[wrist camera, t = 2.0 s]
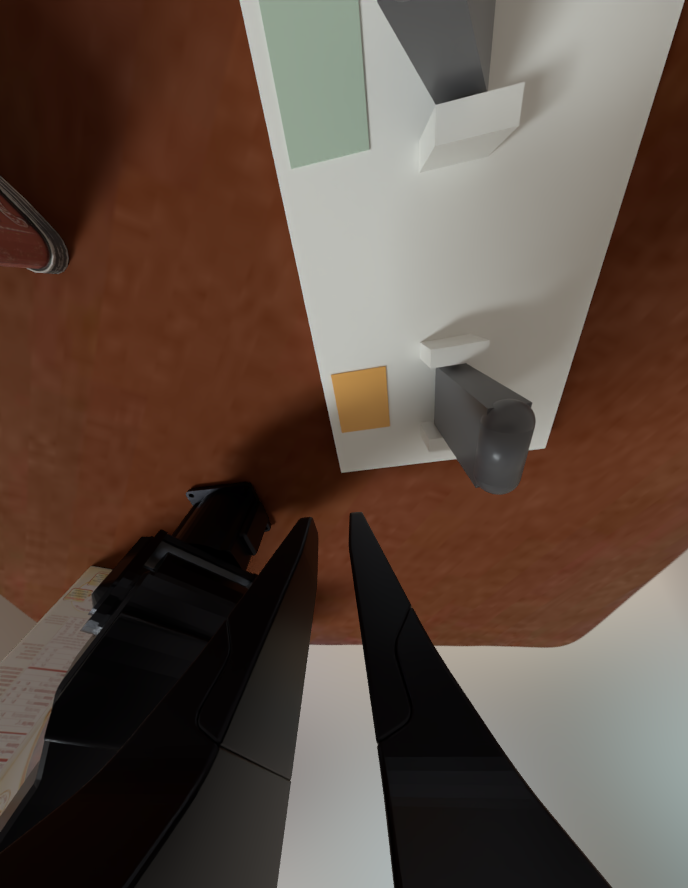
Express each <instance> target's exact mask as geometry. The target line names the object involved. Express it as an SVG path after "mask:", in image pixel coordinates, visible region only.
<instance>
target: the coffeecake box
mask: <svg viewBox="0 0 688 888" xmlns="http://www.w3.org/2000/svg"><path fill="white" fill-rule="evenodd" d="M111 571H112V569H107V568H101V567H95V566H91V567H89V569H88V570H87V571H86V572H85V573H84V574H83V575H82V576H81V577H80V578H79V579H78V580H77V581H76V583H75V584H74V585H73V586H72V587H71V588H70V589H69V590H68V591H67V592H66V593H65V594H64V595H63V596H62V597H61V598H60V599H59V601H58V602H57V603H56V604H55V605H54V606H53V607H52V608H51V609H50V610H49V611H48V612H47V613H46V614H45V615H44V616H43V618H42V619H41V620H40V621H39V622H38V623H37V624H36V625H35V626H34V627H33V628H32V629H31V630H30V631H29V633H28V634H27V635H26V636H25V637H24V638H23V639H22V640H21V641H20V642H19V643H18V644H17V645H16V646H15V647H14V648H13V650H11V651H10V653H9V654H8V655H7V656H6V657H5V658H4V659H3V660H2V661H1V662H0V816H1V815H2V813H3V812H4V810H5V809H6V807H7V806H8V805H9V803H10V802H11V800H12V799H13V797H14V796H15V794H16V793H17V792H18V790H19V789H20V787H21V786H22V784H23V783H24V781H25V780H26V779H27V777H28V776H29V774H30V773H31V771H32V770H33V769H34V767H35V766H36V764H37V763H38V761H39V760H40V758H41V753H42V749H43V745H44V735H45V732H46V728H47V724H48V721H49V717H50V714H51V710H52V705H53V701H54V697H55V693H56V690H57V688H58V686H59V684H60V683H61V681H62V679H63V678H64V676H65V674H66V672H67V671H68V669H69V667H70V666H71V664H72V662H73V661H74V659H75V657H76V656H77V655H78V653H79V652H80V651H81V649H82V648H83V647H84V645H85V644H86V643H87V641H88V640H89V639H90V637H91V636H92V635H93V634H88V633H85V632H82V631H80V630H81V629H82V627H83V626H84V625H85V623H86V622H87V621H88V620H89V618H90V617H91V615H88V613H89V612H90V611H91V610H92V608H93V606H92V596H91V594H92V593H93V592H94V590H95V589H96V588H97V587H98V586H99V585H100V583H101V582H102V581H103V580H104V579H105V578H106V577H107V576H108V575H109V573H110V572H111Z"/></svg>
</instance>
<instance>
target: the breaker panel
mask: <svg viewBox="0 0 688 888" xmlns="http://www.w3.org/2000/svg"><path fill="white" fill-rule="evenodd" d="M684 1H685V0H240V4H241V9H242V13H243V18H244V23H245V27H246V32H247V37H248V41H249V46H250V51H251V55H252V60H253V64H254V69H255V74H256V78H257V83H258V88H259V92H260V97H261V102H262V106H263V111H264V116H265V120H266V125H267V130H268V134H269V139H270V144H271V148H272V153H273V158H274V162H275V167H276V171H277V176H278V181H279V185H280V190H281V195H282V199H283V204H284V209H285V213H286V218H287V223H288V227H289V232H290V237H291V241H292V246H293V251H294V255H295V260H296V264H297V269H298V274H299V278H300V283H301V288H302V292H303V297H304V302H305V306H306V311H307V316H308V320H309V325H310V330H311V334H312V339H313V344H314V348H315V353H316V358H317V362H318V367H319V371H320V376H321V381H322V385H323V390H324V395H325V399H326V404H327V409H328V413H329V418H330V423H331V427H332V432H333V437H334V441H335V446H336V451H337V455H338V460H339V464H340V469H341V473H344V472H352V471H360V470H369V469H377V468H385V467H393V466H402V465H410V464H418V463H427V462H435V461H443V460H451V459H457V458H456V457H455V455H454V454H453V452H452V451H451V449H450V448H449V446H448V445H447V443H446V442H445V440H444V439H443V437H442V435H441V434H440V432H439V431H438V429H437V428H436V426H435V425H434V408H435V375H436V368H438V367H444V366H451V365H457V364H464V363H467V364H468V365H470V366H472V367H473V368H475V369H477V370H478V371H480V372H482V373H484V374H485V375H487V376H489V377H490V378H492V379H494V380H495V381H497V382H499V383H500V384H502V385H504V386H505V387H507V388H509V389H511V390H512V391H514V392H516V393H517V394H519V395H521V396H522V397H524V398H526V399H527V400H529V401H531V402H532V406H531V409H532V410H533V412H534V414H535V419H536V423H535V428H534V432H533V436H532V439H531V443H530V447H529V450H534V449H543V448H545V447H546V444H547V441H548V437H549V434H550V431H551V428H552V425H553V421H554V418H555V415H556V412H557V409H558V405H559V402H560V399H561V396H562V393H563V389H564V386H565V383H566V380H567V376H568V373H569V370H570V367H571V364H572V360H573V357H574V354H575V351H576V348H577V344H578V341H579V338H580V335H581V332H582V328H583V325H584V322H585V319H586V315H587V312H588V309H589V306H590V303H591V299H592V296H593V293H594V290H595V287H596V283H597V280H598V277H599V274H600V271H601V267H602V264H603V261H604V258H605V255H606V251H607V248H608V245H609V242H610V238H611V235H612V232H613V229H614V226H615V222H616V219H617V216H618V213H619V210H620V206H621V203H622V200H623V197H624V194H625V190H626V187H627V184H628V181H629V177H630V174H631V171H632V168H633V165H634V161H635V158H636V155H637V152H638V149H639V145H640V142H641V139H642V136H643V133H644V129H645V126H646V123H647V120H648V117H649V113H650V110H651V107H652V104H653V100H654V97H655V94H656V91H657V88H658V84H659V81H660V78H661V75H662V72H663V68H664V65H665V62H666V59H667V56H668V52H669V49H670V46H671V43H672V39H673V36H674V33H675V30H676V27H677V23H678V20H679V17H680V14H681V11H682V7H683V4H684Z"/></svg>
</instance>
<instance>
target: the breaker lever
mask: <svg viewBox="0 0 688 888" xmlns="http://www.w3.org/2000/svg"><path fill="white" fill-rule="evenodd" d="M531 406H532V402H531V401H529V400H527V399H526V398H524V397H522V396H521V395H519V394H517V393H516V392H514V391H512V390H511V389H509V388H507V387H505V386H504V385H502V384H500V383H499V382H497V381H495V380H494V379H492V378H490V377H489V376H487V375H485V374H484V373H482V372H480V371H478V370H477V369H475V368H473V367H472V366H470V365H468V364H467V363H464V364H457V365H451V366H444V367H438V368H436V375H435V408H434V425H435V426H436V428H437V429H438V431H439V432H440V434H441V435H442V437H443V439H444V440H445V442H446V443H447V445H448V446H449V448H450V449H451V451H452V452H453V454H454V455H455V457H456V458H457V460H458V461H459V463H460V464H461V466H462V467H463V469H464V471H465V472H466V474H467V475H468V477H469V478H470V480H471V481H472V483H473V484H474V486H475V487H476V488H477V487H480V488H482V489H483V490H484V491H486V492H488V493H492V494H506V493H509V492H511V491H512V490H514V489H515V488H516V487H517V486H518V484H519V482H520V480H521V476H522V472H523V469H524V465H525V461H526V458H527V454H528V450H529V447H530V443H531V439H532V436H533V432H534V428H535V423H536V419H535V414H534V412H533V410H532V409H531Z"/></svg>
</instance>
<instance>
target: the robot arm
mask: <svg viewBox="0 0 688 888" xmlns="http://www.w3.org/2000/svg"><path fill="white" fill-rule="evenodd" d="M246 487H247V488H246ZM186 496H187V498H188V499H189V501H190V502H191V504H192V505H193V507H192V508H191V510H190V511H189V512H188V514H187V515H186V516H185V518H184V519H183V521H182V522H181V523H180V525H179V526H178V527H177V529H176V530H175V531H174V533H173V534H172V536H171V535H169V534H167V533H168V532H166V531H164V530H162V529H161V530H160V531H159V532H158V533H157V535H156V536H155V537H153V536H151V537H141V538H140V539H139V540H138V542H137V543H136V544H135V545H134V546H133V547H132V549H131V550H130V551H129V552H128V553H127V554H126V556H125V557H124V558H123V559H122V560H121V561H120V562H119V563H118V565H117V566H116V567H115V568H114V569H113V570H112V571H111V572H110V573H109V575H108V576H107V577H106V578H105V579H104V580H103V581H102V582H101V583H100V585H99V586H98V587H97V588H96V589H95V590H94V592H93V593H92V594H91V596H92V606H93V608H92V610H91V611H90V612H89V613H88V615H91V617H90V618H89V620H88V621H87V622H86V623H85V625H84V626H83V627H82V629H81V630H80V631H82V632H85V633H88V634H93V635H92V636H91V637H90V639H89V640H88V641H87V643H86V644H85V645H84V647H83V648H82V649H81V651H80V652H79V653H78V655H77V656H76V657H75V659H74V661H73V662H72V664H71V666H70V667H69V669H68V671H67V672H66V674H65V676H64V678H63V679H62V681H61V683H60V684H59V686H58V688H57V690H56V693H55V697H54V701H53V705H52V710H51V714H50V717H49V721H48V724H47V728H46V732H45V735H44V745H43V749H42V753H41V758H40V760H39V761H38V763H37V764H36V766H35V767H34V769H33V770H32V771H31V773H30V774H29V776H28V777H27V779H26V780H25V781H24V783H23V784H22V786H21V787H20V789H19V790H18V792H17V793H16V794H15V796H14V797H13V799H12V800H11V802H10V803H9V805H8V806H7V807H6V809H5V810H4V812H3V813H2V815H1V816H0V888H277V882H278V874H279V867H280V859H281V852H282V844H283V837H284V830H285V821H286V814H287V807H288V799H289V791H290V784H291V781H290V780H291V776H292V769H293V761H294V753H295V747H296V739H297V731H298V723H299V717H300V709H301V702H302V694H303V686H304V679H305V672H306V663H307V657H308V650H309V642H310V635H311V627H312V620H313V612H314V605H315V597H316V589H317V573H318V532H317V529H316V526H315V523H314V520H313V518H312V517H305V518H300V519H299V520H298V522H297V523H296V525H295V526H294V527H293V529H292V530H291V531H290V533H289V534H288V535H287V537H286V538H285V539H284V541H283V542H282V544H281V545H280V546H279V548H278V549H277V550H276V552H275V553H274V554H273V556H272V557H271V559H270V560H269V561H268V563H267V564H266V565H265V567H264V568H263V569H262V571H261V572H260V574H259V575H257V574H255V573H254V574H252V573H250V572H248V571H246V569H247V566H248V564H249V561H250V558H251V555H255V554H256V553H257V551H258V548H259V545H260V543H261V540H262V537H263V534H264V532H267V531H269V530H270V528H271V524H270V522H269V518H268V516H267V514H266V511H265V509H264V507H263V505H262V503H261V501H260V500H259V498H258V496H257V494H256V492H255V490H254V488H253V486H252V484H251V483H248V482H243V483H235V484H226V485H218V486H210V487H202V488H193V489H189V490H188V491H187V493H186ZM349 553H350V560H351V567H352V574H353V581H354V588H355V595H356V602H357V609H358V616H359V623H360V630H361V637H362V644H363V650H364V658H365V665H366V672H367V679H368V686H369V693H370V700H371V706H372V713H373V721H374V728H375V735H376V741H377V744H378V746H377V749H378V756H379V762H380V771H381V778H382V786H383V794H384V802H385V811H386V819H387V828H388V837H389V845H390V855H391V864H392V872H393V881H394V888H612V887H611V886H610V884H609V883H608V882H607V881H606V879H605V878H604V877H603V876H602V875H601V873H600V872H599V871H598V870H597V869H596V867H595V866H594V865H593V864H592V863H591V862H590V860H589V859H588V858H587V857H586V855H585V854H584V853H583V852H582V851H581V849H580V848H579V847H578V846H577V845H576V844H575V842H574V841H573V840H572V839H571V837H570V836H569V835H568V834H567V832H566V831H565V830H564V829H563V828H562V827H561V825H560V824H559V823H558V822H557V820H556V819H555V818H554V817H553V816H552V814H551V813H550V812H549V811H548V810H547V808H546V807H545V806H544V805H543V803H542V802H541V801H540V800H539V799H538V797H537V796H536V795H535V793H534V792H533V791H532V790H531V788H530V787H529V786H528V784H527V783H526V781H525V780H524V779H523V778H522V776H521V775H520V773H519V772H518V771H517V769H516V768H515V767H514V765H513V764H512V762H511V761H510V760H509V758H508V757H507V755H506V754H505V752H504V751H503V750H502V748H501V747H500V745H499V744H498V743H497V741H496V739H495V738H494V736H493V735H492V733H491V732H490V730H489V729H488V727H487V726H486V724H485V723H484V721H483V720H482V719H481V717H480V715H479V714H478V713H477V711H476V710H475V708H474V707H473V705H472V704H471V702H470V701H469V699H468V698H467V696H466V695H465V693H464V692H463V690H462V689H461V687H460V686H459V684H458V683H457V681H456V680H455V678H454V677H453V675H452V674H451V672H450V671H449V669H448V668H447V666H446V664H445V663H444V661H443V660H442V658H441V656H440V655H439V653H438V652H437V650H436V648H435V647H434V645H433V643H432V642H431V640H430V638H429V636H428V635H427V633H426V631H425V629H424V628H423V626H422V624H421V622H420V620H419V618H418V617H417V615H416V613H415V611H414V609H413V608H412V607H411V604H410V602H409V600H408V598H407V596H406V594H405V592H404V590H403V589H402V587H401V585H400V583H399V581H398V579H397V577H396V575H395V574H394V572H393V570H392V568H391V566H390V564H389V562H388V560H387V558H386V557H385V555H384V553H383V551H382V549H381V547H380V545H379V543H378V541H377V540H376V538H375V536H374V534H373V532H372V530H371V528H370V526H369V524H368V523H367V521H366V519H365V517H364V515H363V513H362V512H354V513H350V520H349Z"/></svg>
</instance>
